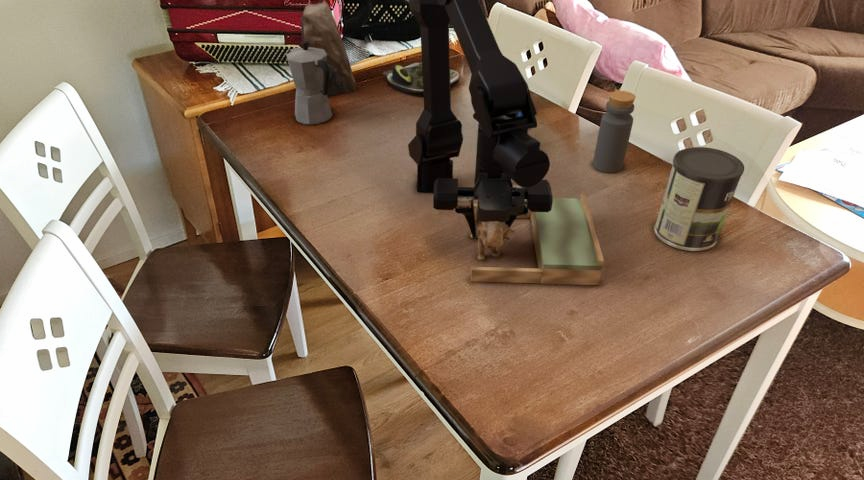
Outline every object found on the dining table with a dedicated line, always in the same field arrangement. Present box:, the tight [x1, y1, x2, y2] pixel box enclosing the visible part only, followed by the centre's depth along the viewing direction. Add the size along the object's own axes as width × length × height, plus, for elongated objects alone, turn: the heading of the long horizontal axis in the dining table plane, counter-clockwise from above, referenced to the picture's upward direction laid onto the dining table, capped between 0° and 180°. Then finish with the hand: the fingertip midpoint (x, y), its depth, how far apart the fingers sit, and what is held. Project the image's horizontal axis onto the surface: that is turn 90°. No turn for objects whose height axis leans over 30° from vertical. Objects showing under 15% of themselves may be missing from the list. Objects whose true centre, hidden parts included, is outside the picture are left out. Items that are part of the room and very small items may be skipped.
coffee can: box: [653, 146, 745, 252], centre depth 103 cm, size 10×10×14 cm
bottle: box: [592, 90, 636, 174], centre depth 121 cm, size 6×6×15 cm
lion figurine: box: [469, 203, 516, 261], centre depth 104 cm, size 15×5×9 cm, turn 11°
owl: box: [299, 0, 357, 97], centre depth 156 cm, size 13×13×20 cm
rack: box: [470, 193, 605, 286], centre depth 104 cm, size 20×19×5 cm
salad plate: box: [382, 61, 460, 97], centre depth 161 cm, size 19×18×5 cm
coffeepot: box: [285, 40, 333, 126], centre depth 142 cm, size 15×9×18 cm, turn 37°
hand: (487, 236), depth 105 cm, fingers closed on lion figurine, 4 cm apart
